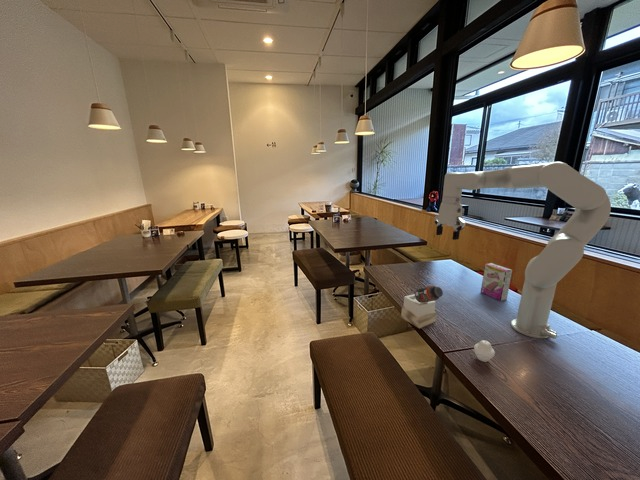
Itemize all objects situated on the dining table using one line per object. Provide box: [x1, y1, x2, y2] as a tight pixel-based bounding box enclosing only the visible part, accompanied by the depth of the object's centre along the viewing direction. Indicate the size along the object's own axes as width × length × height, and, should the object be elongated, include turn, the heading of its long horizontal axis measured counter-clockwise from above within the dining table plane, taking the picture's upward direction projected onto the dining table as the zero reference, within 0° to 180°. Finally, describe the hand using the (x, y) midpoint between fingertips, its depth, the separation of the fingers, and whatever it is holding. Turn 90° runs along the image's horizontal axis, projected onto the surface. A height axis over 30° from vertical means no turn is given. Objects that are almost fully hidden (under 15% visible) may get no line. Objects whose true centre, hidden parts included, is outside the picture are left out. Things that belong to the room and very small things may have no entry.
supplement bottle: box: [414, 285, 444, 303], centre depth 106 cm, size 6×6×11 cm
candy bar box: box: [480, 262, 513, 302], centre depth 132 cm, size 11×5×16 cm, turn 22°
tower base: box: [400, 306, 437, 329], centre depth 113 cm, size 10×10×5 cm
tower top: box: [403, 293, 437, 317], centre depth 112 cm, size 9×9×5 cm
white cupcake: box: [473, 339, 496, 363], centre depth 89 cm, size 6×6×7 cm
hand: (446, 237), depth 121 cm, fingers open, 9 cm apart
